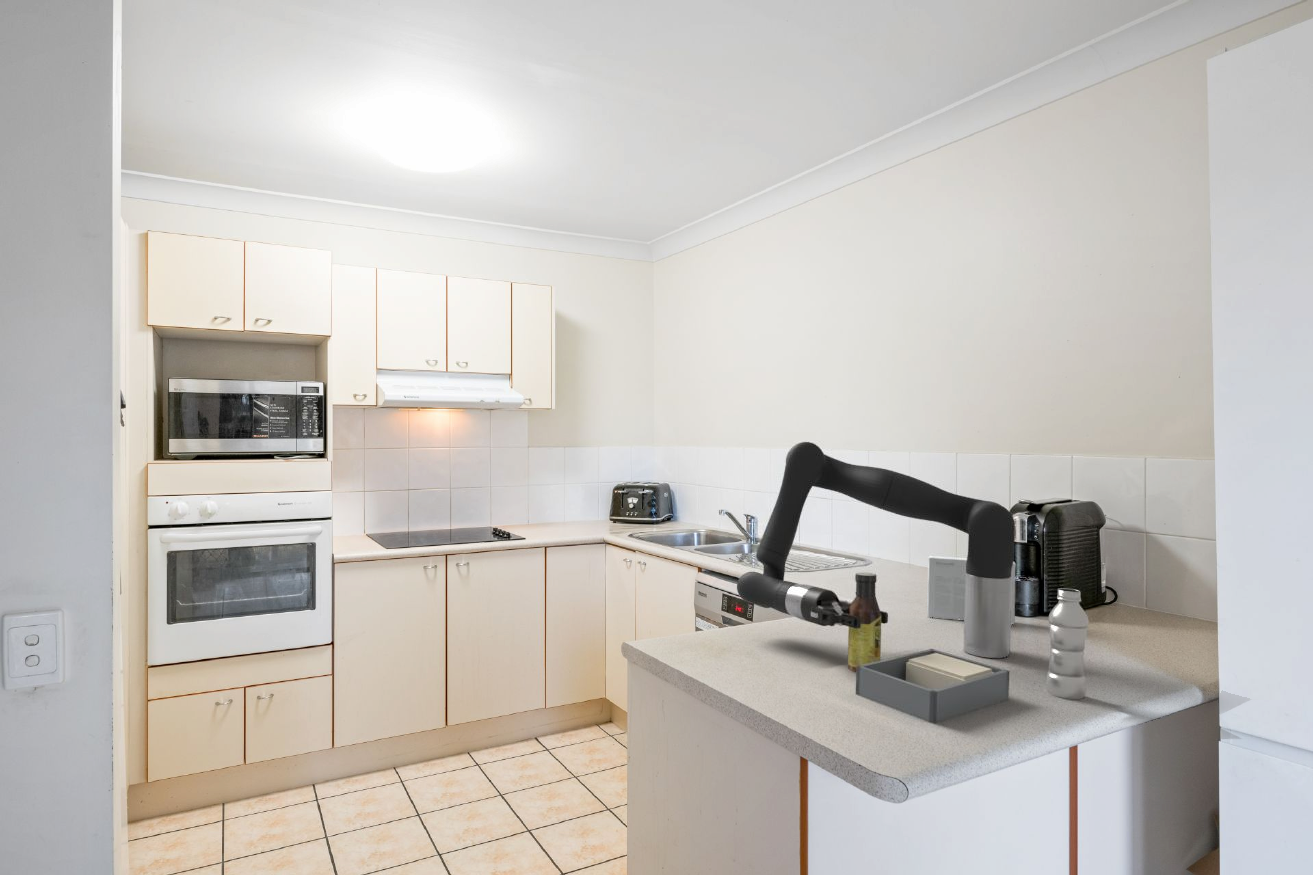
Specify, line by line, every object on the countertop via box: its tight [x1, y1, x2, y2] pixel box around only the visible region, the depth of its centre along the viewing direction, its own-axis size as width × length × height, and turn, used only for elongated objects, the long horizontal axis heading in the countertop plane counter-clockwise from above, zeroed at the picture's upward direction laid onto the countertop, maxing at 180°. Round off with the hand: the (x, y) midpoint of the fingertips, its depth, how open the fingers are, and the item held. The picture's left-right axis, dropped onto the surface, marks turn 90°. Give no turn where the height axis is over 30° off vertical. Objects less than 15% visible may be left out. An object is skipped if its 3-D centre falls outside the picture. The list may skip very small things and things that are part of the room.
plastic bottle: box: [1045, 587, 1090, 700], centre depth 140 cm, size 6×7×20 cm
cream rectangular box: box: [906, 653, 994, 690], centre depth 140 cm, size 9×12×5 cm
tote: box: [855, 648, 1010, 725], centre depth 137 cm, size 22×16×6 cm
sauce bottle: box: [847, 572, 882, 673], centre depth 152 cm, size 6×6×20 cm
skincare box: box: [927, 555, 1017, 624], centre depth 200 cm, size 21×5×16 cm, turn 71°
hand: (873, 620), depth 150 cm, fingers open, 7 cm apart
